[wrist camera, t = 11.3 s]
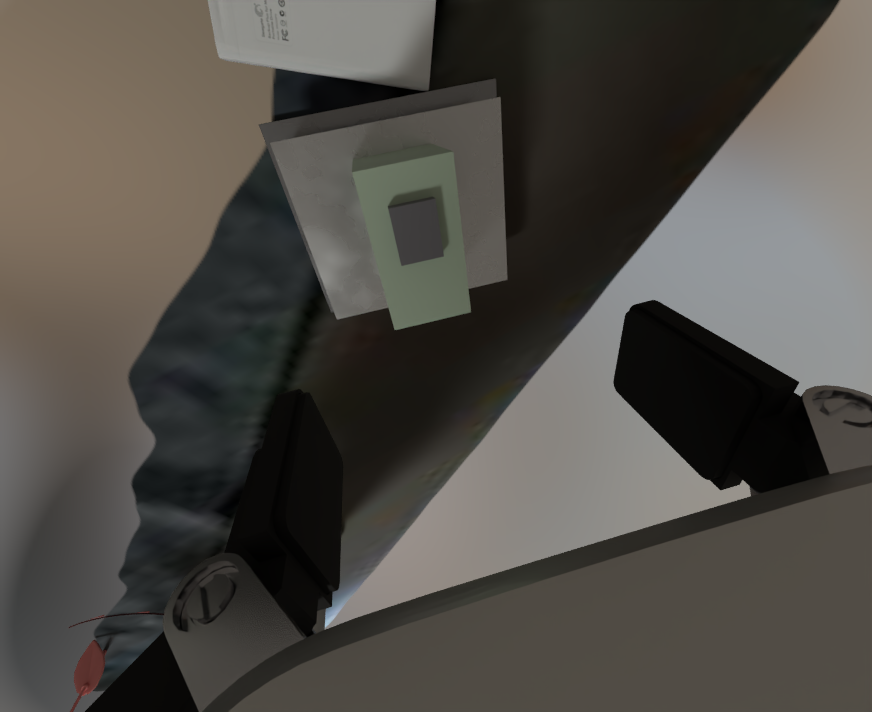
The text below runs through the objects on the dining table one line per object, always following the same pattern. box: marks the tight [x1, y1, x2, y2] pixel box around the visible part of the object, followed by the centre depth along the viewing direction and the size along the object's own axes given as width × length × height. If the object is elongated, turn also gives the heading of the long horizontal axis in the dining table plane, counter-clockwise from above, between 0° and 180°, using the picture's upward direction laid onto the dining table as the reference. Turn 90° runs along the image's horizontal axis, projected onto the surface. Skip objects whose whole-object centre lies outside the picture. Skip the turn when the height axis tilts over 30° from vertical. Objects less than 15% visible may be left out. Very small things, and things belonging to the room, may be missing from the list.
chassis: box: [259, 78, 507, 319], centre depth 26 cm, size 14×16×4 cm
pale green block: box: [352, 144, 471, 330], centre depth 21 cm, size 9×5×7 cm, turn 9°
